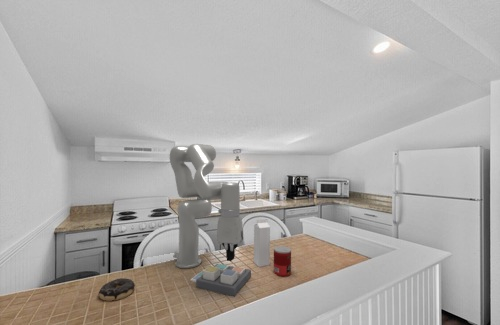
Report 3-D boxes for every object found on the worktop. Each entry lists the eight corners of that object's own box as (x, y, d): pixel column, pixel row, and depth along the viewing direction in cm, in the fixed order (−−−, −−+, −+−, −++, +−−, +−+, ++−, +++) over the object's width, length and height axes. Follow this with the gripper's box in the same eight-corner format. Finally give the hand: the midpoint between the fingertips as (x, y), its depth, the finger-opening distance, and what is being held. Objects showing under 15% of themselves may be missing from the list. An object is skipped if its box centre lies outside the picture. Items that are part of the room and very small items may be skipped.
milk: (253, 262, 115) (253, 219, 116) (264, 260, 118) (264, 218, 119) (259, 267, 110) (259, 221, 111) (270, 265, 113) (270, 220, 113)
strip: (190, 281, 96) (190, 279, 96) (204, 270, 106) (204, 268, 106) (197, 282, 94) (197, 280, 94) (211, 271, 105) (211, 269, 105)
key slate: (220, 282, 89) (220, 273, 89) (226, 277, 93) (226, 268, 93) (232, 285, 87) (232, 276, 87) (237, 279, 92) (237, 270, 92)
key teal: (213, 275, 99) (213, 267, 99) (218, 271, 104) (218, 263, 104) (223, 277, 97) (223, 269, 97) (228, 272, 102) (228, 265, 102)
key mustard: (203, 278, 92) (203, 270, 92) (209, 273, 96) (209, 265, 96) (213, 281, 90) (214, 272, 90) (220, 275, 94) (220, 267, 95)
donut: (111, 286, 91) (112, 276, 91) (140, 286, 91) (140, 276, 91) (91, 302, 80) (92, 290, 80) (124, 303, 80) (125, 291, 80)
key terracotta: (229, 279, 96) (229, 270, 96) (234, 274, 101) (234, 266, 101) (240, 281, 94) (240, 272, 94) (245, 276, 99) (245, 268, 99)
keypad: (195, 287, 90) (196, 279, 91) (217, 270, 106) (217, 263, 106) (234, 296, 84) (234, 288, 84) (250, 276, 100) (250, 269, 100)
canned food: (290, 277, 99) (290, 252, 100) (272, 276, 101) (272, 251, 101) (291, 270, 107) (291, 246, 107) (274, 268, 109) (274, 245, 109)
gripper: (209, 213, 90) (209, 260, 89) (243, 216, 85) (244, 266, 84) (218, 210, 97) (218, 254, 96) (251, 212, 92) (251, 259, 91)
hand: (230, 259), depth 90 cm, fingers closed
